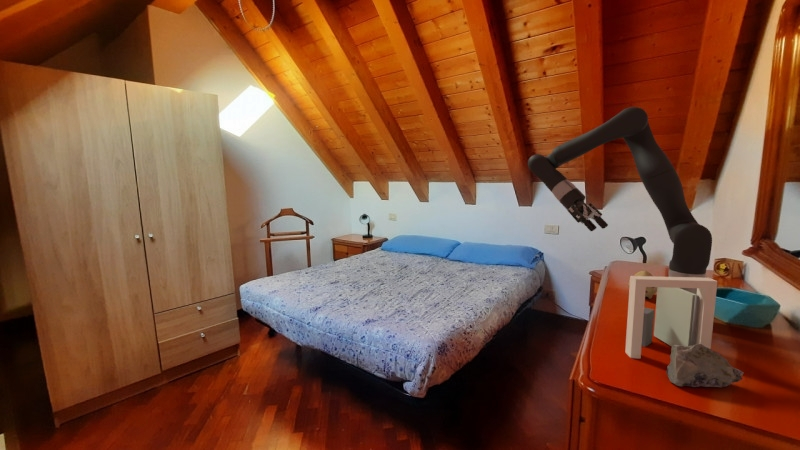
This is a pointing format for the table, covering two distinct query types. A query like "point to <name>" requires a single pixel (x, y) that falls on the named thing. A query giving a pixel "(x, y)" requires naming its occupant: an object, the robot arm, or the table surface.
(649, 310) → the block
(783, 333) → the table surface
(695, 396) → the table surface
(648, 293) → the toy pig
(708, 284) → the door frame
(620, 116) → the robot arm
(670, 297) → the door
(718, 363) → the mineral rock
